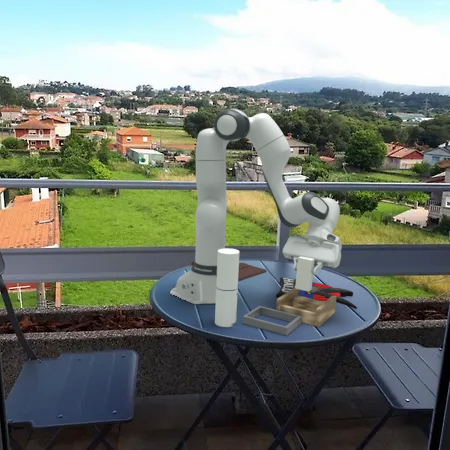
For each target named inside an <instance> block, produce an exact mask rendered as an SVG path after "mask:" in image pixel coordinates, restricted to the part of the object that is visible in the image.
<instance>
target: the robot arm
mask: <svg viewBox="0 0 450 450" xmlns="http://www.w3.org/2000/svg"><path fill="white" fill-rule="evenodd" d="M245 138H246V139H247V140H248V141H249V142H250V143H251V144H252V146H253V147H254V149H255V151H256V153H257V154H258V157H259V159H260V163H261V167H262V169H261V170H262V175H263V177H264V181H265V183H266V185H267V188H268V190H269V193H270V195H271V197H272V199H273V202H274V204H275V206H276V207H275V208H276V210H277V215H278V218H279V221H281V223H282V224H283V225H284V226H286V227H288V228H291V229H293V228H296V227H299V226H301V225H302V224H304V223H308V226H307V227H308V228H307V230H306V232H305V235H297V234H293V235H290V236H289V237H288V238H287V240H286V243H285V244H284V246H283V247H282V251H281V252H282V254H283V257H284V258H285V259H290V260H293V263H294V265H293V267H292V268H293V270H294V271H296V272H297V263H298V257H300V256H302V257H307V258H312V259H314V265H316V266H314V268H312V270H311V274H313V275H314V276H317V273H318V272H319V271H320V270H322V268H323V267H330V268H337V267H339V266H340V263H341V259H342V247H343V245H342V241H341V239H340V237H339V236H338V235H335V234H334V233H333V231H334V229H336V226H337V225H338V221H339V218H340V213H341V210H340V208H341V207H340V205H339V203H338V202H337V201H336V200H335V199H332V198H331V197H321V196H320V195H318V194H317V193H315V192H313V191H307V192H304V193H302V194H300V195H298V196H296V197H294V198H293V197H291V195H290V194H289V192H288V191H289V190H288V188H287V186H286V184H285V182H284V179H283V171H284V168H285V167H286V165H287V164H288V162H289V159H290V157H291V147H290V144H289V141H288V140H287V139H286V136H285V135H284V133H283V131H282V130H281V128H280V126H279V125H278V124H277V122H275V120H274V119H273V118H272V117H271V116H270V115H269V114H267V113H266V112H259V113H256V114H255V115H253V116H251V117H249V115H248V114H247V113H246V112H244V111H243V110H240V109H238V108H227V109H223V110H222V111H220V112H218V114H217V115H216V116H215V117H214V120H213V127H212V128H210V127H209V128H204V129H202V130H201V131H199V133H198V134H197V138H196V139H197V140H196V145H195V183H196V193H197V194H196V195H197V207H196V209H195V215H194V216H195V218H194V219H195V224H194V225H195V227H194V229H195V259H194V260H193V261H192V262H189V266H188V267H191V269H190V270H188V271H186V272H185V273H184V274H182V275H180V277H179V278H178V279H177V282H176V284H175V287H174V288H172V289H171V290H170V293H169V295H170V294H172V295H171V296H173V295H175V296H177V297H176V298H178V297H179V298H178V299H180V298H181V300H183V301H185V300H186V302H189V303H191V304H193V305H201V304H216V281H217V256H218V250H219V249H225V248H226V224H227V223H226V221H227V211H228V210H227V209H228V208H227V204H228V203H227V198H228V197H227V160H226V159H227V155H226V154H227V145H228V144H229V143H231V142H235V141H239V140H240V139H245ZM175 296H174V297H175Z"/></svg>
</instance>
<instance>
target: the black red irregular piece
mask: <svg viewBox="0 0 450 450" xmlns="http://www.w3.org/2000/svg"><path fill="white" fill-rule="evenodd" d="M279 283H280V288H279V290H278V292H277V293H276V295H275V298H276V299H278V298H279V297H281V296H283V295H284V294H286V293H287V292H289V291H290V290H292V289H293V288H295V285H296V278H291V277H283V276H282V277H280V278H279ZM298 296H303V297H306V298H310V299H314V300H318V301H322V302H325V301H326V300H328V299H329V298H330V297H331V296H337V297H336V303H338V304H340V305H345V306H348V307H350V308H352V309H355V310H358V309H357V308H358V307H357V305H355V304H353V303H352V302H351V301H349V300H347V299H345V298H346V296H354V292H353V291H352V290H349V289H345V288H340V287H333V286H330V285H327V284H324V283H319V282H313V281H312V289H311V290H310V291H309V292H308V291H304V290H300V289H299V293H298Z"/></svg>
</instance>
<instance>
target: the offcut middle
mask: <svg viewBox="0 0 450 450" xmlns="http://www.w3.org/2000/svg"><path fill="white" fill-rule="evenodd" d="M293 307H296V308H300V309H305V310H309V311H314V312H316V308H313V307H309V306H305V305H301V304H298V303H293Z"/></svg>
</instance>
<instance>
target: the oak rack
mask: <svg viewBox="0 0 450 450" xmlns="http://www.w3.org/2000/svg"><path fill="white" fill-rule="evenodd" d="M298 293H299V289H295V288H293V289H292V290H290V291H289V292H287V293H286V294H284V295H283V296H281V297H279V298H276V305H275V310H278V311H282V312H286V313H290V314H294V315H298V316H302V321H301V324H302V323H303V324H307V325H310V326H314V327H318V328H320V327H322V325H323V324H324V323H326V321H328V319H330V318H331V317H332V316H333V315H334V314H335V313H336V307H337V306H336V305H337V302H336V297H337V296H331V297H330V298H329V299H328V300H326V301H323V302H324V303H323V304H322V305H320V306H319V307H318V308H317V309H316V313H315V312H311V311H307V310H303V309H299V308H295V307H293V303H294V298H295V297H297V296H298Z"/></svg>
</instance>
